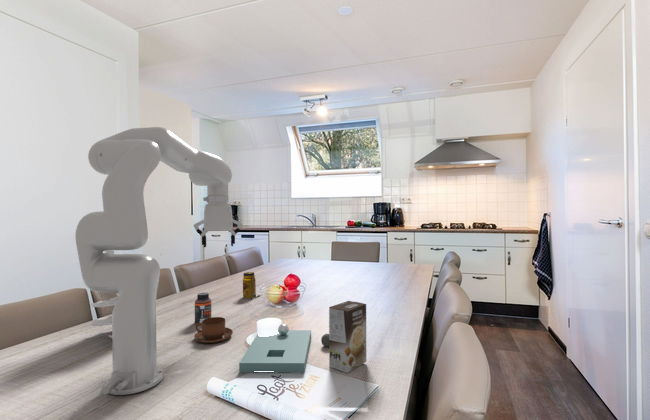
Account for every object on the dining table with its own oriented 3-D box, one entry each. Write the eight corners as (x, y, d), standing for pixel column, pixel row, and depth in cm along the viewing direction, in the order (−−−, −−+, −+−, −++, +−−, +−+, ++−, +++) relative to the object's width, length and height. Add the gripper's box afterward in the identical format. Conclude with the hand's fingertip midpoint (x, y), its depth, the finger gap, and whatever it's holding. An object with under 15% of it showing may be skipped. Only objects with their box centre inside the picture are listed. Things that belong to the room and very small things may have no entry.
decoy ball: (333, 348, 103) (333, 336, 103) (320, 348, 103) (320, 336, 103) (333, 344, 106) (333, 331, 106) (321, 344, 107) (321, 331, 107)
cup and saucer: (192, 348, 105) (192, 328, 105) (196, 334, 116) (196, 316, 116) (232, 344, 108) (232, 324, 108) (232, 331, 119) (232, 313, 119)
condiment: (239, 298, 163) (238, 273, 163) (248, 294, 171) (248, 270, 171) (252, 299, 161) (252, 274, 161) (261, 295, 169) (261, 271, 169)
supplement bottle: (206, 326, 124) (205, 295, 124) (191, 326, 125) (191, 295, 125) (214, 321, 129) (214, 291, 129) (200, 320, 131) (200, 291, 131)
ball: (288, 336, 106) (288, 325, 106) (277, 336, 106) (277, 325, 106) (289, 332, 110) (289, 322, 110) (279, 332, 110) (279, 322, 110)
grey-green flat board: (304, 372, 88) (304, 363, 88) (239, 372, 88) (239, 363, 88) (311, 337, 112) (311, 330, 112) (259, 337, 112) (259, 330, 112)
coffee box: (348, 374, 87) (347, 311, 87) (328, 367, 91) (327, 307, 91) (367, 361, 94) (366, 303, 94) (348, 355, 98) (347, 299, 98)
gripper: (192, 200, 121) (192, 248, 121) (242, 200, 125) (243, 246, 125) (194, 200, 128) (194, 246, 128) (241, 200, 133) (242, 244, 133)
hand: (218, 246), depth 127 cm, fingers open, 9 cm apart
